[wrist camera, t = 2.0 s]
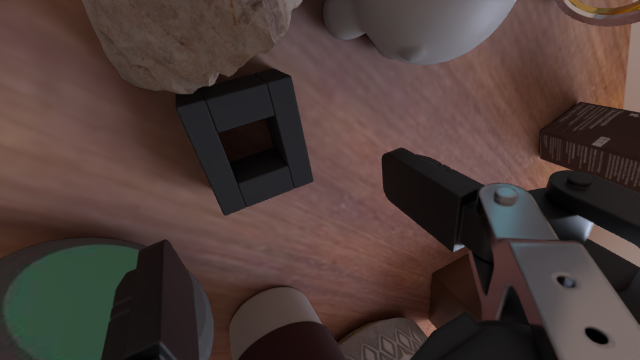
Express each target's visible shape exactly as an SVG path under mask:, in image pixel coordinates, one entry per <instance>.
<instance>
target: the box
mask: <svg viewBox="0 0 640 360" xmlns="http://www.w3.org/2000/svg"><path fill="white" fill-rule="evenodd" d="M539 151H540V158H541V159H543V160H546V161H548V162H551V163H554V164H557V165H560V166H562V167H565V168H568V169H571V170H573V171H581V172H586V173H590V174H593V175H595V176H598V177H601V178H603V179H606V180H608V181H611V182H613V183H616V184H619V185H621V186H624V187H626V188H629V189H631V190H634V191H637V192H639V193H640V113H639V112H634V111H628V110H623V109H617V108H612V107H606V106H601V105H595V104H590V103H584V102H579V103H578V104H577V105H576V106H574V107H573V108H572V109H571V110H569V111H568V112H567V113H565V114H564V115H563V116H561V117H560V118H559V119H557V120H556V121H555V122H553V123H552V124H551V125H549V126H548V127H546V128H545V129H543V130H542V131H541V135H540V150H539Z"/></svg>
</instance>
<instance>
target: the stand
mask: <svg viewBox="0 0 640 360" xmlns="http://www.w3.org/2000/svg"><path fill="white" fill-rule="evenodd" d="M463 312H466V313H467V314H468V315H469V316H470V317H471V318H472V319H473V320H474V321H475V322H476V321H482V308H481V302H480V298H479V294H478V290H477V286H476V283H475V279H474V275H473V271H472V267H471V264H470V260H469V254H467V255H466V256H464V257H462V258H460V259H458V260H456V261H455V262H453V263H451V264H449V265H447V266H446V267H444V268H442V269H440V270H438V271H437V272H435V273H433V274H432V288H431V301H430V314H429V320H430V321H431V323H432V324H433V325H434V326H435V327H436V328H437V329H438V328H440V327H441V326H443V325H444V324H446V323H448V322H449V321H451V320H452V319H454V318H456V317H457V316H459V315H460V314H462V313H463Z"/></svg>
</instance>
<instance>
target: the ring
mask: <svg viewBox="0 0 640 360" xmlns="http://www.w3.org/2000/svg"><path fill="white" fill-rule="evenodd" d="M555 2H556V4H557V5H558V7H559V8H560V9H561V10H562V11H563V12H564V13H565V14H567V15H568V16H570V17H571V18H573V19H575V20H577V21H580V22H582V23H586V24H589V25H594V26H604V27H610V26H621V25H627V24H632V23H636V22H640V0H639V1H637V2H634V3H632V4H629V5H626V6H622V7H617V8H606V9H605V8H594V7H590V6H587V5H584V4H582V3H580V2H579V1H578V0H555Z"/></svg>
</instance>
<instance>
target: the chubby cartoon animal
mask: <svg viewBox="0 0 640 360" xmlns="http://www.w3.org/2000/svg"><path fill="white" fill-rule="evenodd" d="M515 2H516V0H326V1H325V3H324V7H323V18H324V23H325V25H326V28H327V30H328V31H329V33H330V34H331V35H332V36H333V37H335V38H337V39H341V40H349V39H354V38H357V37H359V36H361V35H363V34H365V33H366V34H367V35H368V37H369V38H370V39H371V41H372V42H373V43H374V44H375V46H376V49H377V50H378V52H379V53H380V54H381V55H382V56H384V57H385V58H388V59H394V60H395V59H396V60H398V61H401V62H405V63H409V64H415V65H431V64H438V63H442V62H446V61H449V60H452V59H454V58H457V57H459V56H461V55H463V54H465V53H467V52H469V51H470V50H472V49H473V48H475V47H476V46H478V45H479V44H480V43H482V42H483V41H484V40H485V39H486V38H488V37H489V36H490V35H491V34H492V33H493V32H494V31H495V30H496V29H497V28H498V26H499V25H500V24H501V23H502V22H503V20H504V19H505V18H506V16H507V15H508V14H509V12H510V10H511V9H512V7H513V6H514V4H515Z"/></svg>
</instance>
